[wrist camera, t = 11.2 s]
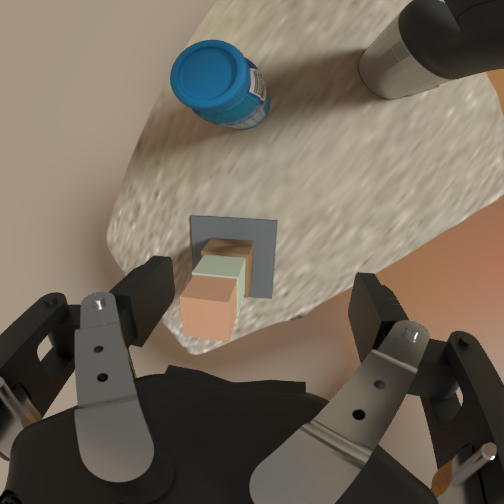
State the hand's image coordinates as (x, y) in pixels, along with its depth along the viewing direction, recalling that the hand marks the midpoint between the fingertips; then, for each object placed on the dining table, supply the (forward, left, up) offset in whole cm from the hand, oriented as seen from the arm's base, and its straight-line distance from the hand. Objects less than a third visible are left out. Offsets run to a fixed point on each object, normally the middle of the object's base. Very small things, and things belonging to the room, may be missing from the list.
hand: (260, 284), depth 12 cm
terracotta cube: (+7, +13, -20) cm, 25 cm away
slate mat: (+7, +13, -32) cm, 35 cm away
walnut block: (+7, +13, -32) cm, 35 cm away
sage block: (+7, +13, -26) cm, 30 cm away
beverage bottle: (+6, -12, -32) cm, 35 cm away
